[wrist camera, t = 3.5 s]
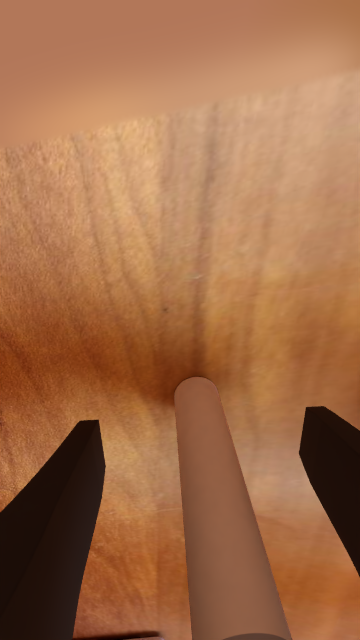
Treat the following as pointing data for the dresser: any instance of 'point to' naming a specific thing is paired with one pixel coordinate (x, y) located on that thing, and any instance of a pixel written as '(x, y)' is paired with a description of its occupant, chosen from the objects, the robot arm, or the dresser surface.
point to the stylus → (221, 528)
